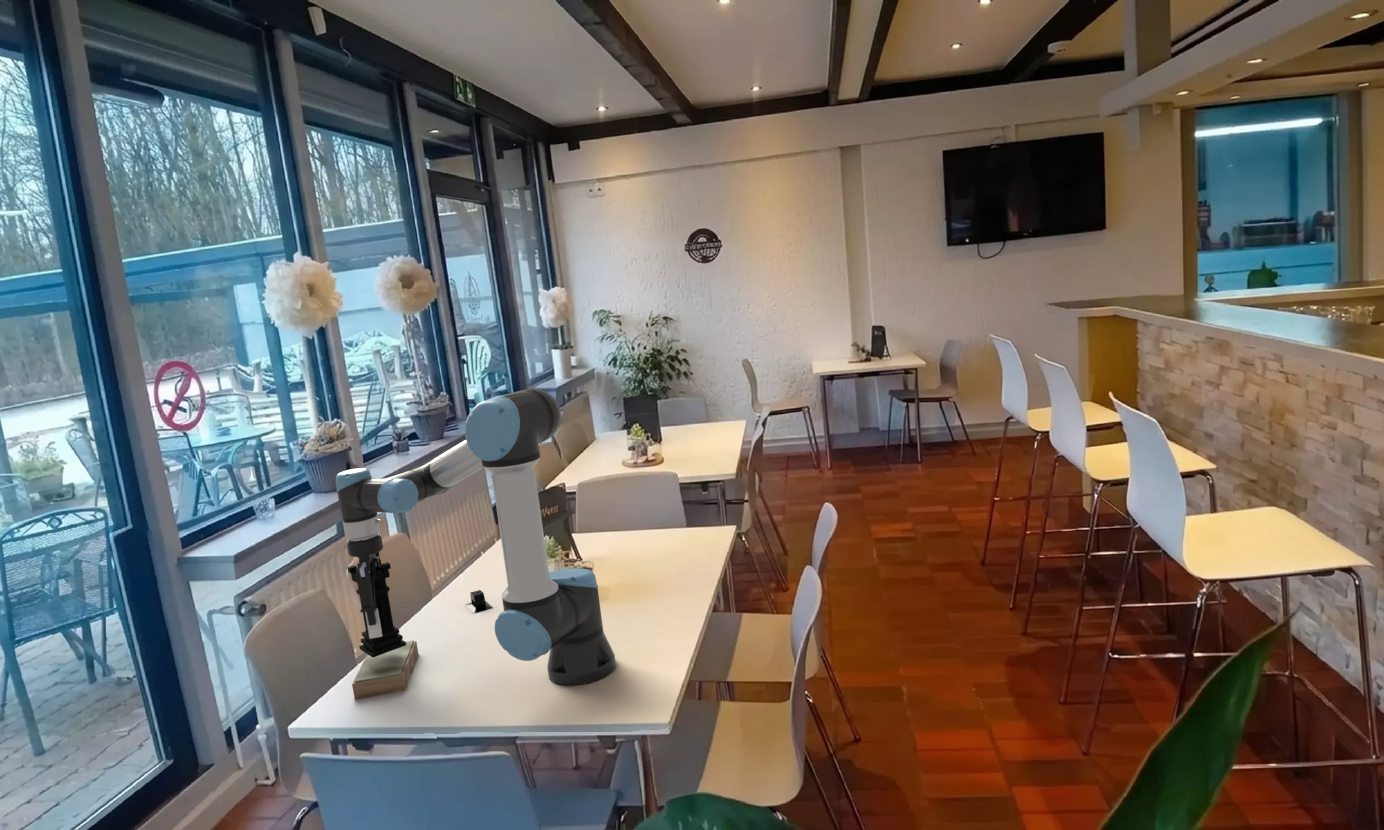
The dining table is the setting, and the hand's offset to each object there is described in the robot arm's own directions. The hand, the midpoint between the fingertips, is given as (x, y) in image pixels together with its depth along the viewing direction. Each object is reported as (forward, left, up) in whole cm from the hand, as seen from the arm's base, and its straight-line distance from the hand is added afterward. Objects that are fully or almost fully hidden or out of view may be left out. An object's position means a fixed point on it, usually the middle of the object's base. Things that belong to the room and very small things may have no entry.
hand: (380, 629), depth 200 cm
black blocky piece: (+38, -18, -12) cm, 44 cm away
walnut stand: (0, 0, -12) cm, 12 cm away
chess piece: (0, 0, -5) cm, 5 cm away
